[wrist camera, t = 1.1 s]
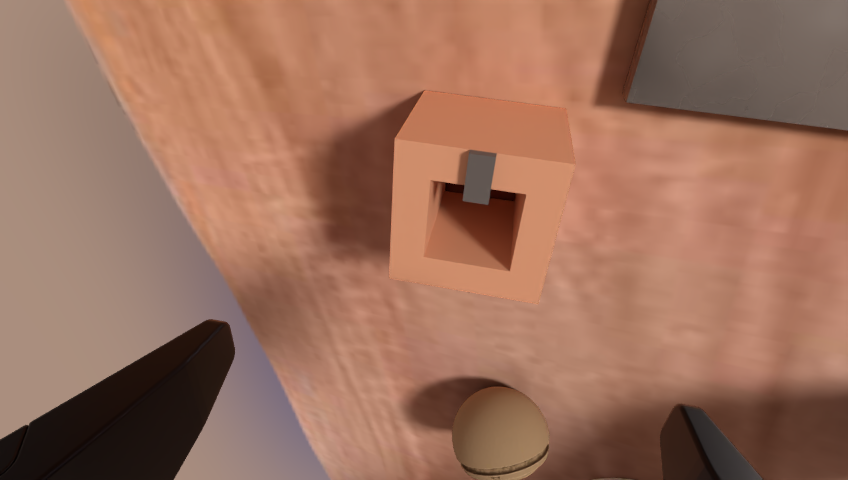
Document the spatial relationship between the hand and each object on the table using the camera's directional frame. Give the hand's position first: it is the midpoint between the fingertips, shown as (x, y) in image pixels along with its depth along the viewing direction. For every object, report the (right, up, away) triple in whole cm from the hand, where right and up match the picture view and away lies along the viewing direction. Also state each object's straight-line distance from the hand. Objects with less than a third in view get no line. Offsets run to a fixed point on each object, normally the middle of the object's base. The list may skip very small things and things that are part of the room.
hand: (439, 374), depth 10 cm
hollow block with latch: (+2, +6, +10) cm, 12 cm away
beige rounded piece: (+4, -6, +18) cm, 19 cm away
